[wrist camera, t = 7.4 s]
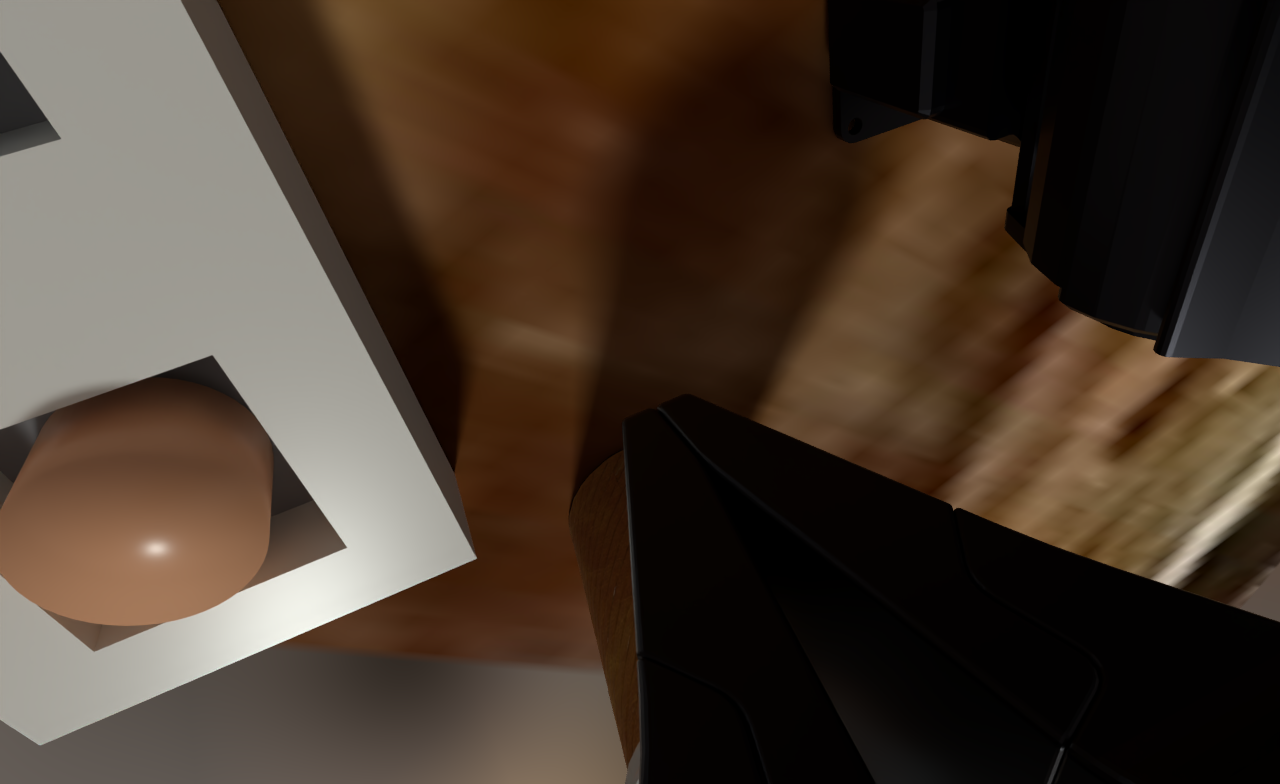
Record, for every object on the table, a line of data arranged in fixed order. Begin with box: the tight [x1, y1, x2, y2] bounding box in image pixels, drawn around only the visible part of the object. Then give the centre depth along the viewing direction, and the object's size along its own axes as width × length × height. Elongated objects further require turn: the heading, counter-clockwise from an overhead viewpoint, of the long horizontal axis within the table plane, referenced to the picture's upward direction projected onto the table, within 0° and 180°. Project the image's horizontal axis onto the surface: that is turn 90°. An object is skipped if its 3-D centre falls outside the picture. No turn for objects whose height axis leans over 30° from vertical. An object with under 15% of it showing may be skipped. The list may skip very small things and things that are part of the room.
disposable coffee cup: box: [569, 450, 640, 784], centre depth 23 cm, size 10×10×12 cm
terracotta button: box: [0, 377, 274, 626], centre depth 17 cm, size 5×5×3 cm
